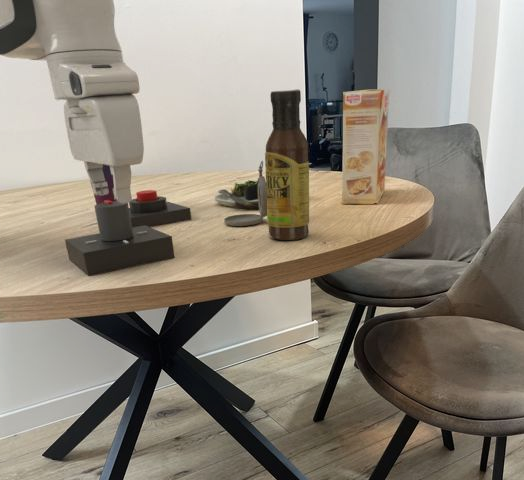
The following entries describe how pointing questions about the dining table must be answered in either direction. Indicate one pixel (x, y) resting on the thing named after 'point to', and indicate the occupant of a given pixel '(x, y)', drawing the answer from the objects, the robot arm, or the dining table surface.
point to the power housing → (157, 212)
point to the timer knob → (113, 221)
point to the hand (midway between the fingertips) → (112, 198)
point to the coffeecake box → (364, 145)
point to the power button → (146, 195)
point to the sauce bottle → (287, 170)
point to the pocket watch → (262, 203)
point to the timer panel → (119, 250)
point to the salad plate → (240, 196)
